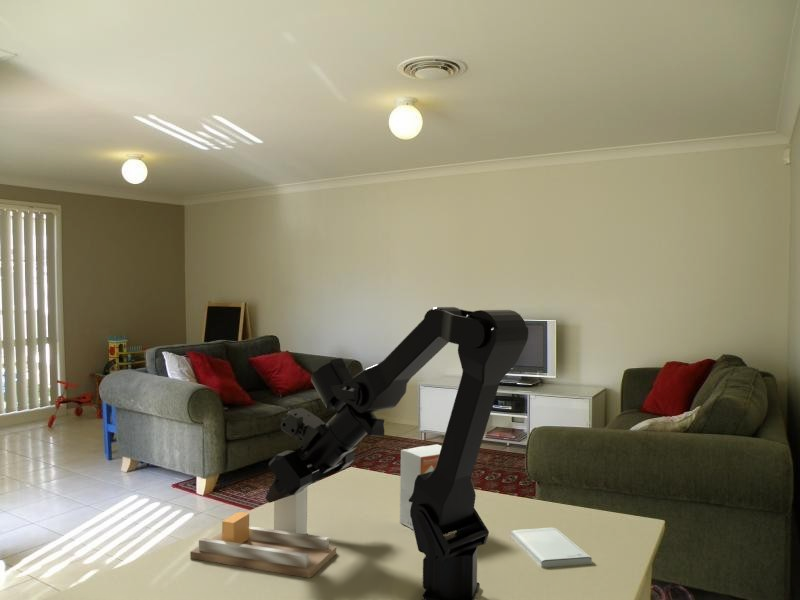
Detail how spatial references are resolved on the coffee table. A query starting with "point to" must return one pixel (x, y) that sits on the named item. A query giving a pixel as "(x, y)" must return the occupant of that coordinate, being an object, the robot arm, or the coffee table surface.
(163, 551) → the coffee table surface
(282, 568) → the rail board
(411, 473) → the small box
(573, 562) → the hard drive
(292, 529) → the block
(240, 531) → the block
